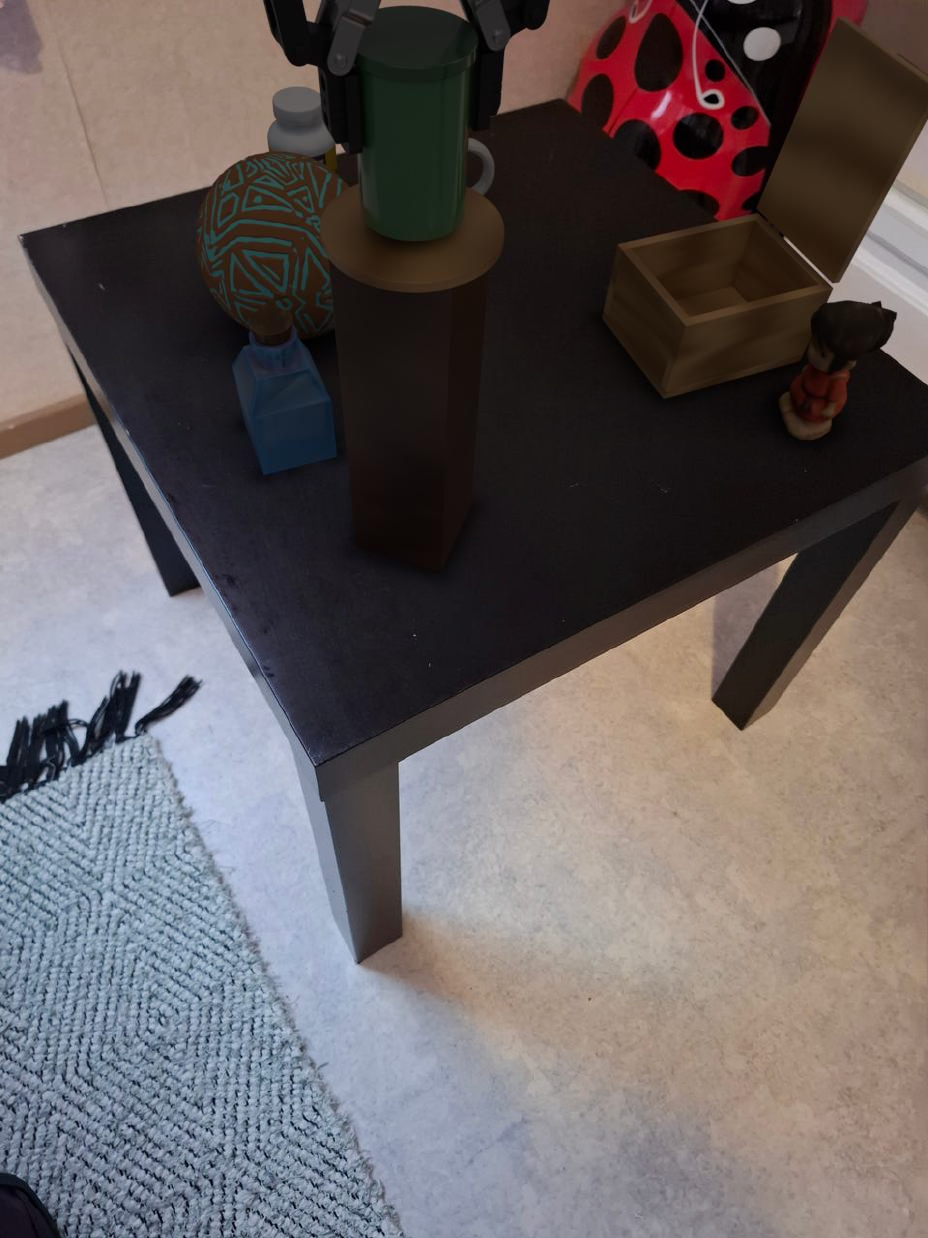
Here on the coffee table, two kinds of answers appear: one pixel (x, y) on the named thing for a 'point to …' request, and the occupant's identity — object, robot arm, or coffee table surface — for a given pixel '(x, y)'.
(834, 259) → the lid
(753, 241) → the chest
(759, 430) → the coffee table surface
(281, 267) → the decorative sphere
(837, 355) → the figurine
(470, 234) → the tall pedestal column
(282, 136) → the pill bottle
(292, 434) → the perfume bottle
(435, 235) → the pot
